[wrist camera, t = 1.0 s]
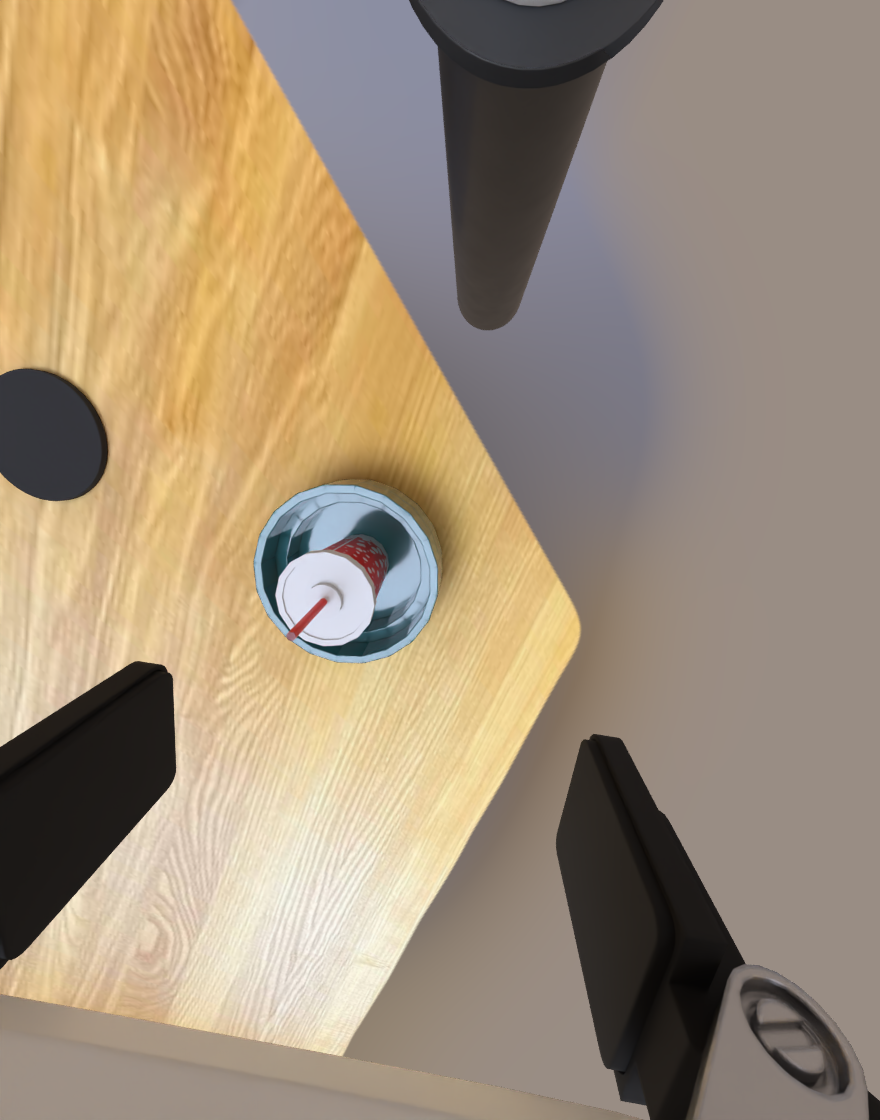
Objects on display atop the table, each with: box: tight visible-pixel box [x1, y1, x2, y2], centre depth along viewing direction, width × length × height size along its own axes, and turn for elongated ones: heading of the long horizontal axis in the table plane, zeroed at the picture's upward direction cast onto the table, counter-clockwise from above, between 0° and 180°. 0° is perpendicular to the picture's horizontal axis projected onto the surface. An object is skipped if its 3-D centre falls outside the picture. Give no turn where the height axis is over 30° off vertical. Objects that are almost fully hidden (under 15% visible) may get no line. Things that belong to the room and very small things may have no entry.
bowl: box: [254, 479, 442, 663], centre depth 32 cm, size 13×13×5 cm
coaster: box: [0, 369, 107, 501], centre depth 34 cm, size 10×10×1 cm
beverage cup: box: [276, 534, 389, 646], centre depth 28 cm, size 6×6×14 cm
